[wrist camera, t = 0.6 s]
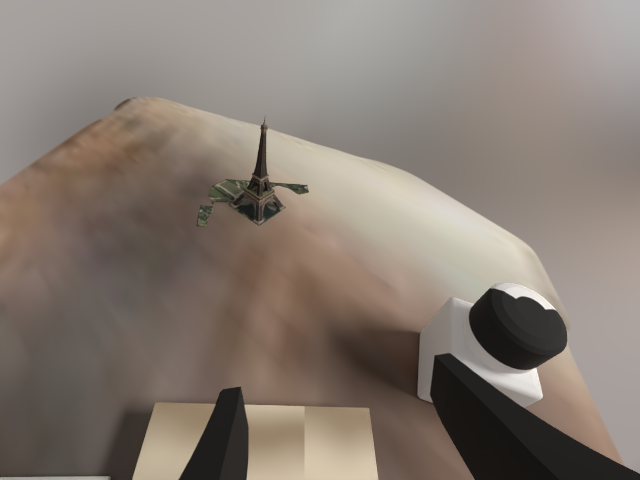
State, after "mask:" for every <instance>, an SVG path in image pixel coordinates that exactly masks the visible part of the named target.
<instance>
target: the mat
mask: <svg viewBox="0 0 640 480" xmlns="http://www.w3.org/2000/svg"><path fill="white" fill-rule="evenodd" d="M110 479H111V477H110V476H88V477H0V480H110Z"/></svg>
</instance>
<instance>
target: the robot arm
mask: <svg viewBox="0 0 640 480" xmlns="http://www.w3.org/2000/svg"><path fill="white" fill-rule="evenodd" d="M430 397H431V399H432V401H433V404H434V406H435V408H436V411H437V413H438V415H439V417H440V419H441V422H442V424H443V425H444V427H445V429H446V431H447V432H448V434H449V436H450V438H451V439H452V441H453V443H454V445H455V446H456V448H457V450H458V452H459V453H460V455H461V457H462V458H463V460H464V462H465V463H466V465H467V467H468V469H469V470H470V472H471V474H472V475H473V477H474V479H475V480H640V474H639V473H637V472H635V471H633V470H631V469H629V468H627V467H625V466H623V465H621V464H619V463H617V462H615V461H613V460H611V459H609V458H607V457H605V456H604V455H602V454H600V453H598V452H596V451H594V450H592V449H590V448H589V447H587V446H585V445H583V444H581V443H580V442H578V441H576V440H574V439H573V438H571V437H569V436H568V435H566V434H564V433H563V432H561V431H559V430H558V429H556V428H554V427H553V426H551V425H549V424H548V423H546V422H545V421H543V420H541V419H540V418H538V417H537V416H535V415H534V414H532V413H531V412H529V411H528V410H526V409H525V408H523V407H522V406H520V405H519V404H517V403H516V402H515V401H513V400H512V399H510V398H509V397H508V396H506V395H505V394H503V393H502V392H501V391H499V390H498V389H497V388H495V387H494V386H492V385H491V384H490V383H488V382H487V381H486V380H484V379H483V378H482V377H481V376H479V375H478V374H477V373H475V372H474V371H473V370H471V369H470V368H469V367H468V366H466V365H465V364H464V363H462V362H461V361H460V360H458V359H457V358H456V357H455V356H453V355H452V354H451V353H446V354H439V355H435V356H434V364H433V372H432V380H431V388H430ZM248 456H249V426H248V421H247V416H246V411H245V406H244V401H243V396H242V390H241V387H235V388H229V389H223V390H222V391H221V392H220V394H219V397H218V400H217V402H216V405H215V407H214V410H213V412H212V414H211V417H210V419H209V421H208V423H207V425H206V428H205V430H204V432H203V434H202V436H201V438H200V440H199V442H198V444H197V446H196V448H195V450H194V452H193V454H192V456H191V458H190V460H189V462H188V463H187V465H186V467H185V469H184V471H183V472H182V474H181V476H180V478H179V480H247V470H248Z"/></svg>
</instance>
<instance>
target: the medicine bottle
mask: <svg viewBox="0 0 640 480" xmlns="http://www.w3.org/2000/svg"><path fill="white" fill-rule="evenodd" d="M566 345H567V331H566V327H565V324H564V322H563V320H562V318H561V316H560V315H559V313H558V312H557V311H556V310H555V308H554V307H553V306H552V305H551V304H550V303H549V302H548V301H547V300H545V299H544V298H543V297H542V296H540V295H539V294H537V293H536V292H534V291H532V290H531V289H529V288H526V287H524V286H521V285H518V284H513V283H499V284H495V285H494V286H492V287H491V288H490V289H489V290H488V291H487V292H486V293H485V294H484V295H483V296H482V297H481V298H480V299H479V300H478V301H477V302H476V303H475V304H473V303H470V302H467V301H464V300H461V299H458V298H455V297H451V298H449V300H448V301H447V302H446V303H445V304H444V305H443V307H442V308H441V309H440V310H439V311H438V312H437V313H436V315H435V316H434V317H433V318H432V319H431V320H430V322H429V323H428V324H427V325H426V326H425V327H424V329H423V330H422V331H421V332H420V345H419V368H418V391H417V395H418V397H419V398H420V399H423V400H425V401H428V402H431V403H433V401H432V399H431V397H430V388H431V380H432V372H433V364H434V356H435V355H439V354H446V353H451V354H452V355H453V356H455V357H456V358H457V359H458V360H460V361H461V362H462V363H464V364H465V365H466V366H468V367H469V368H470V369H471V370H473V371H474V372H475V373H477V374H478V375H479V376H481V377H482V378H483V379H484V380H486V381H487V382H488V383H490V384H491V385H492V386H494V387H495V388H497V389H498V390H499V391H501V392H502V393H503V394H505V395H506V396H508V397H509V398H510V399H512V400H513V401H515V402H516V403H517V404H519V405H520V406H522V407H523V408H524V407H526V406H528V405H530V404H532V403H535V402H537V401H539V400H540V399H542V397H543V395H542V391H541V386H540V382H539V378H538V374H537V369H536V367H538V366H539V365H541V364H543V363H544V362H546V361H548V360H549V359H551V358H552V357H554V356H556V355H557V354H559V353H561V352H562V351H563V350H564V349H565V347H566Z"/></svg>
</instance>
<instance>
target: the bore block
mask: <svg viewBox="0 0 640 480" xmlns="http://www.w3.org/2000/svg"><path fill="white" fill-rule="evenodd" d="M215 405H216V404H198V403H160V402H155V405H154V409H153V412H152V415H151V419H150V422H149V425H148V429H147V432H146V435H145V439H144V442H143V445H142V449H141V452H140V455H139V459H138V462H137V465H136V469H135V472H134V475H133V479H132V480H179V478H180V476H181V474H182V472H183V471H184V469H185V467H186V465H187V463H188V462H189V460H190V458H191V456H192V454H193V452H194V450H195V448H196V446H197V444H198V442H199V440H200V438H201V436H202V434H203V432H204V430H205V428H206V425H207V423H208V421H209V419H210V417H211V414H212V412H213V410H214V407H215ZM244 406H245V411H246V416H247V421H248V426H249V456H248V470H247V480H378V474H377V467H376V459H375V451H374V443H373V435H372V428H371V420H370V412H369V408H349V407H311V406H273V405H244Z"/></svg>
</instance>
